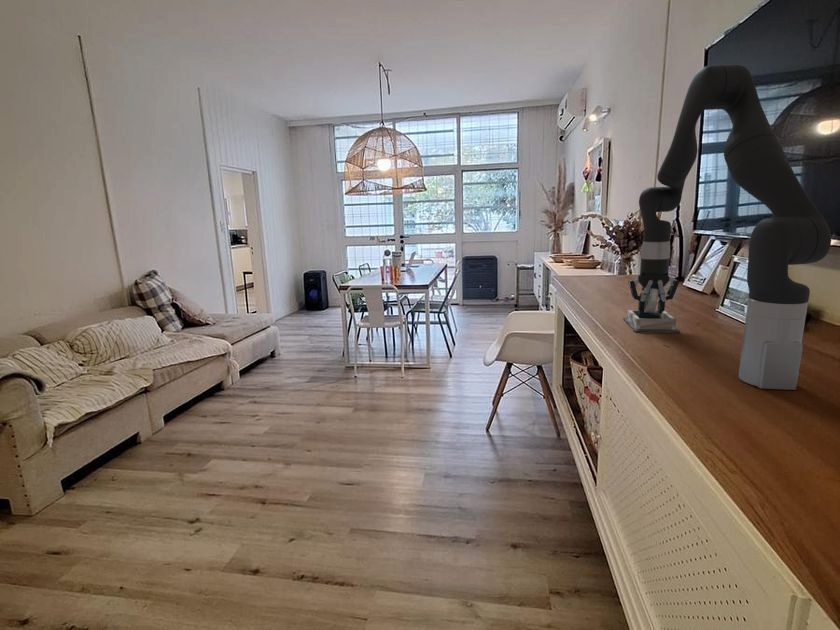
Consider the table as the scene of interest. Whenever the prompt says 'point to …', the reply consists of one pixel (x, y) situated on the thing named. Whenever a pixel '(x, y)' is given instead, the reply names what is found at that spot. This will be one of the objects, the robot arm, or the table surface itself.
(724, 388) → the table surface
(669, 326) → the holder
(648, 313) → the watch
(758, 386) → the robot arm
